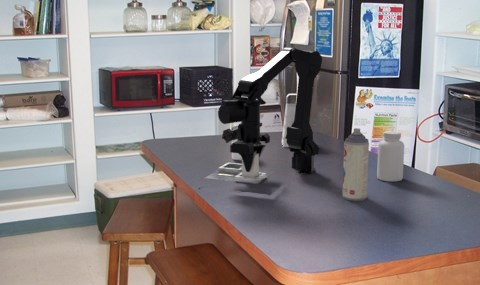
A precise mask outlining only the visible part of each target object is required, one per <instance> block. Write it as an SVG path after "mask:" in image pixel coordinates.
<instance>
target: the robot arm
mask: <svg viewBox="0 0 480 285" xmlns="http://www.w3.org/2000/svg"><path fill="white" fill-rule="evenodd" d="M292 63H293V64H294V68H295V72H296V74H297V76H298V82H297V90H296V91H297V92H296V94H297V95H296V99H295V100H296V102H295V104H296V109H295V118H294V123H293V124H292V125H291V127H287V134H286V137H285V139H287V144H288V146H289V147H288V148H289V152H291V153H293V154H292V155H293V156H292V157H291V168H292V169H296V170H299V171H298V172H297V173H298V174H306V175H308V174H309V175H311V174H312V173H313V172H314V171H316V167H315V156H316V155H318V154H319V151H320V147H319V145H318V144H316V142H315V141H314V132H313V128H312V127H311V123H310V119H311V112H312V111H311V110H312V101H313V95H314V94H313V93H314V85H315V84H314V83H315V79H316V77H317V76H318V75H319V73H320V71H321V68H322V63H323V56H322V55H321V53H320V52H319V51H318V50H307V49H298V48H295V47H284V48H282V49H281V51H280V52H279V53H278V54H277V55H276V56H274V57H273V58H272V59H271V60H269V61H268V62H267V63H266V64H265V65H264V66H263V67H261V68H260V69H259V70H258V71H256V72H254V73H250V74H248V75H246V76H244V77H242V78H241V79H240V80H239V81H238V82H237V87H236V88H235V91H234V92H233V94H232V96H231V97H230V100H228V99H227V100H226V99H225V100H222V101H221V102H222V104H221V105H220V106H219V108H218V111H217V117H218V120H219V122H220V123H221V124H223V125H227V124H235V123H238V124H237V126H238V128H236V129H233V130H232V128H226V129H224V130H222V137H221V139H222V140H224V142H225V143H226V144H228V143H230V142H231V144H230V146H229V153H231V154H232V153H238V154H240V155H241V157H242V160H243V163H244V166H245V169H246V172H250V170H251V167H252V164H253V161H254V158H255V155H256V153H259V159H260V158H261V156H262V154H263V152H264V149H265V148H266V146H267V145H266V144H269V143H270V142H271V141H270V140H271V135H270V134H268V133H267V132H261V127H262V126H263V122H261V105H265V104H266V103H267V102H266V101H265V100H264V99H263V98H262V96H263V95H264V93H265V92H266V91H267V90H268V87H269V84H270V83H271V81H273V80H274V79H275V78H276V77H277V76H278V75H280V74H281V73H282V72H283V71H284V70H285V69H287V67H289V66H290V65H291V64H292ZM236 139H237V141H236V142H234V143H232V141H233V140H236ZM262 142H264V144H262ZM242 160H241V161H242Z"/></svg>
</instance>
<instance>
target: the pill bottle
mask: <svg viewBox="0 0 480 285" xmlns="http://www.w3.org/2000/svg"><path fill="white" fill-rule="evenodd" d="M382 134H383V135H382V136H383V137H382V140H380V141H379V142H378V145H377V146H378V147H377V165H376V166H377V168H376V169H377V170H376V178H377V179H378V180H380V181H384V182H391V183H392V182H400V181H402V180H403V177H404V163H405V161H404V160H405V144H404V142H403V141H402V140H401V137H402V133H401V132H400V131H396V130H394V131H393V130H387V131H386V130H385V131H383V133H382Z"/></svg>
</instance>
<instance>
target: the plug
mask: <svg viewBox="0 0 480 285" xmlns="http://www.w3.org/2000/svg"><path fill="white" fill-rule="evenodd" d="M259 160H260V158H259V153H256V155H255V158H254V161H253V164H252V167H251V170H250V172H246V169H245V166H244V163H243V160H241V164H242V176H243V177H252V178H256V177H257V176H259V170H260V164H259V163H260V161H259Z"/></svg>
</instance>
